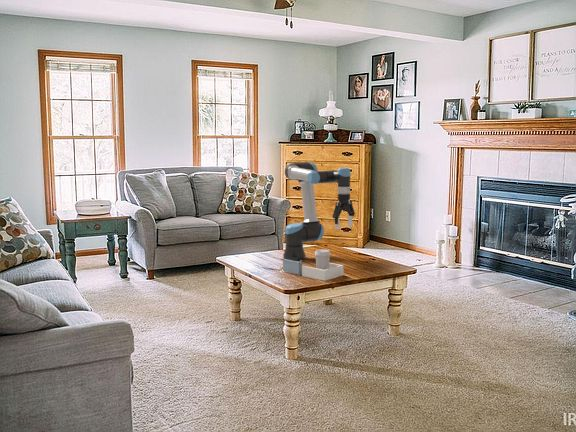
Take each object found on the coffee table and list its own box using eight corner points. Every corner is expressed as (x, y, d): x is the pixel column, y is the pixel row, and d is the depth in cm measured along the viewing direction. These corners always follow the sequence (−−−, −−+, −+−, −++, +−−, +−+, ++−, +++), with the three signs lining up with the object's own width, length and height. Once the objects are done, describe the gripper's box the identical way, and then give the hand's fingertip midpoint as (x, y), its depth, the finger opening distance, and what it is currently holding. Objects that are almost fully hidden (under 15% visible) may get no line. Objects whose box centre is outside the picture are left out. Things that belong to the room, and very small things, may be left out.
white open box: (299, 275, 337) (299, 260, 335) (318, 270, 349) (318, 255, 348) (324, 280, 323) (324, 265, 322) (343, 275, 336) (343, 260, 335)
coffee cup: (313, 273, 340) (313, 249, 338) (329, 273, 341) (329, 248, 339) (315, 277, 331) (315, 252, 328) (332, 277, 331) (331, 252, 329)
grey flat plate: (300, 274, 338) (300, 262, 337) (298, 274, 337) (298, 262, 336) (284, 270, 347) (284, 259, 346) (282, 271, 346) (282, 259, 345)
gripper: (336, 195, 335) (336, 231, 338) (360, 192, 354) (360, 225, 357) (326, 194, 340) (326, 229, 343) (350, 191, 359) (350, 224, 362)
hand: (343, 227), depth 350 cm, fingers open, 13 cm apart
